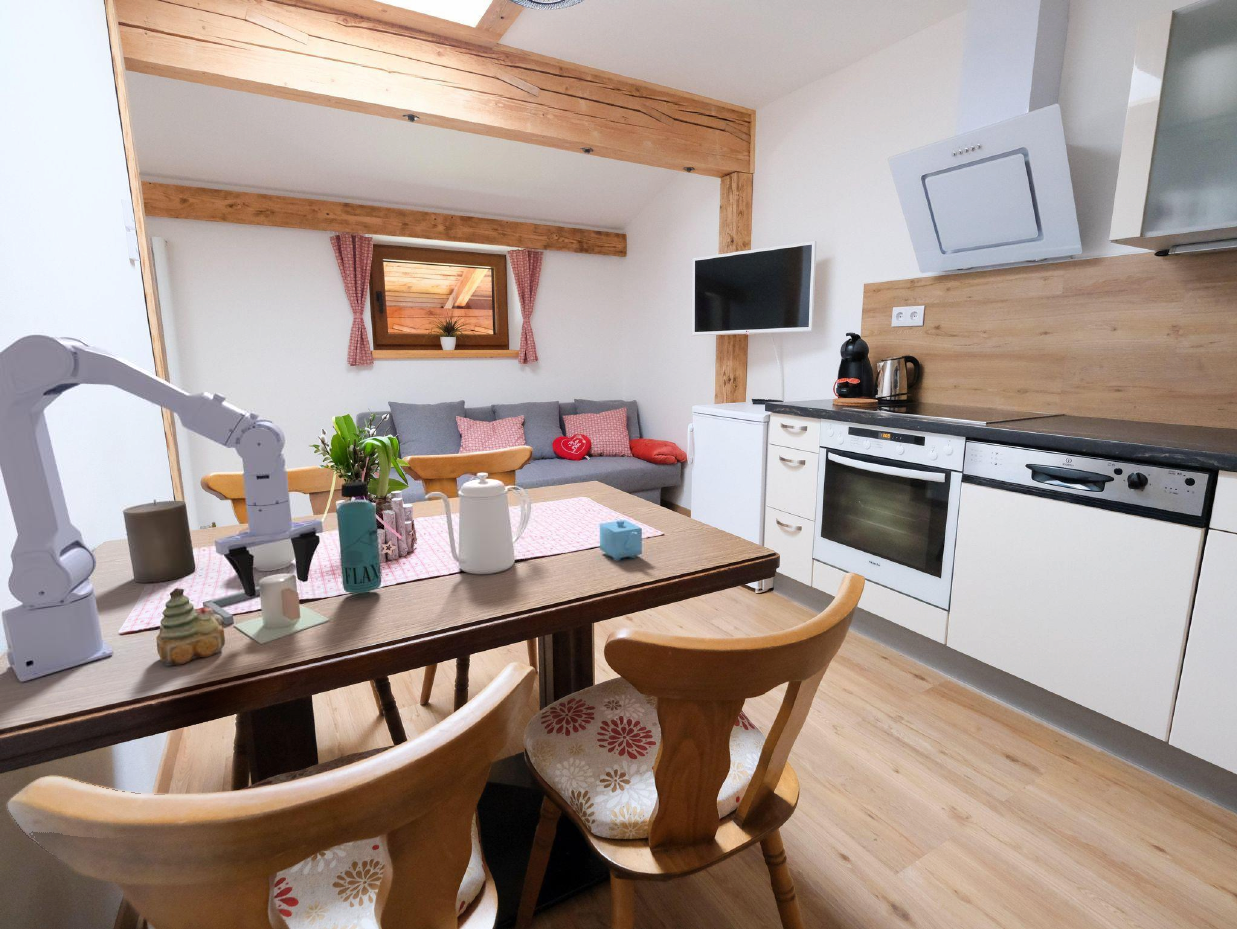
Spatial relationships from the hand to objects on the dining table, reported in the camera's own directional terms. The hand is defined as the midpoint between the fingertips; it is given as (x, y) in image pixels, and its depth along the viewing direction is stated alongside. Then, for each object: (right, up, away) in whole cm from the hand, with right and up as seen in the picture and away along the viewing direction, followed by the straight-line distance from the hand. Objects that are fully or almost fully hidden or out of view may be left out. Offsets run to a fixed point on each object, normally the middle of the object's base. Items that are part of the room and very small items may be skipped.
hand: (277, 587), depth 93 cm
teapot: (+54, 0, +31) cm, 62 cm away
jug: (+1, -6, 0) cm, 6 cm away
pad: (0, -6, +1) cm, 6 cm away
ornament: (-7, -8, -8) cm, 13 cm away
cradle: (-9, -5, +8) cm, 12 cm away
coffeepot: (+26, -1, +26) cm, 37 cm away
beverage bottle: (+8, -4, +13) cm, 15 cm away
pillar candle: (-35, -3, +24) cm, 43 cm away
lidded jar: (-17, -2, +28) cm, 32 cm away
